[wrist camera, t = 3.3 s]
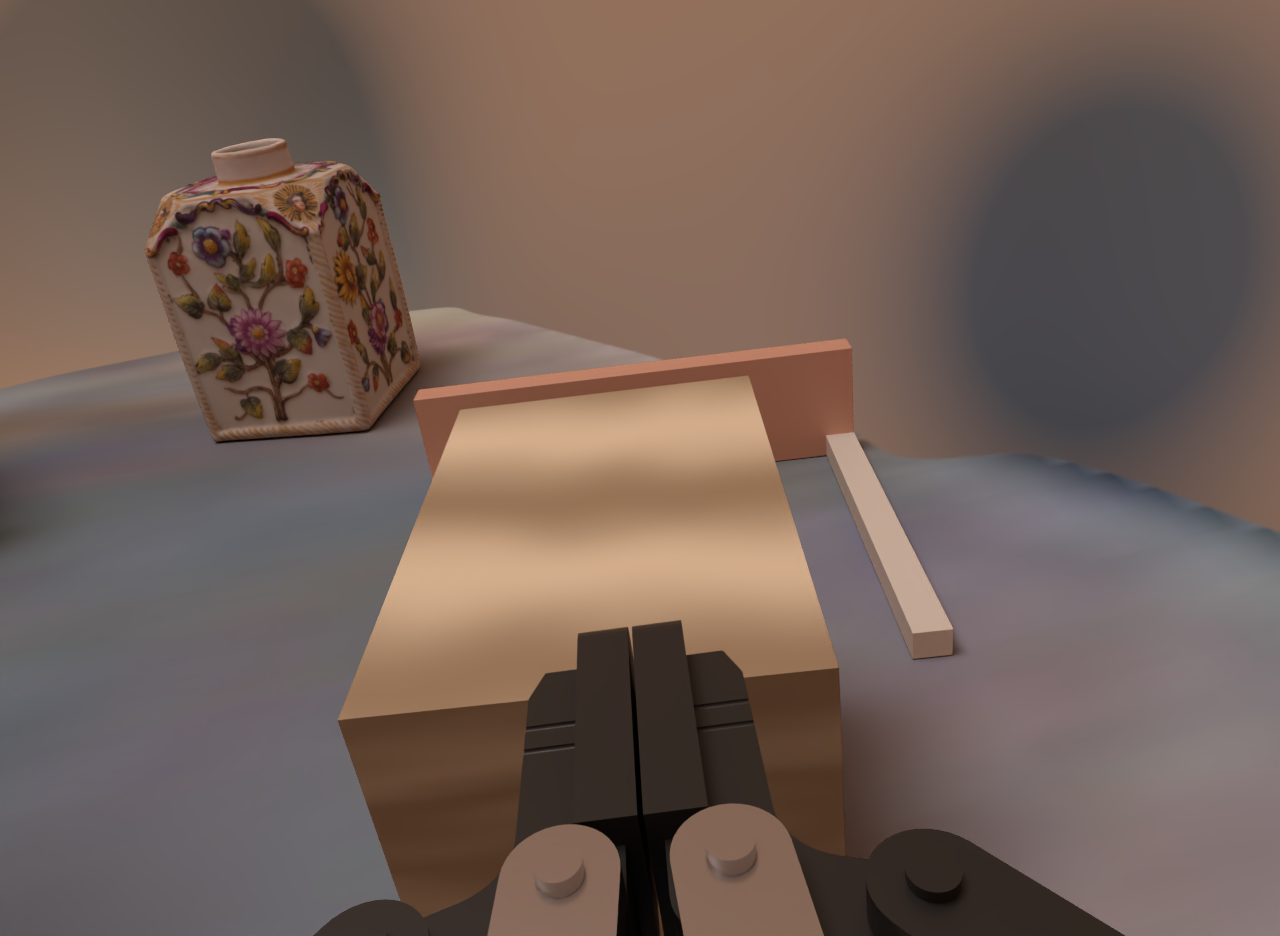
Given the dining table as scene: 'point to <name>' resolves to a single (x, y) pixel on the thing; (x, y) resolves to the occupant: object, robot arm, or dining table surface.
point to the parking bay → (795, 426)
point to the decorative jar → (283, 295)
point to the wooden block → (583, 613)
